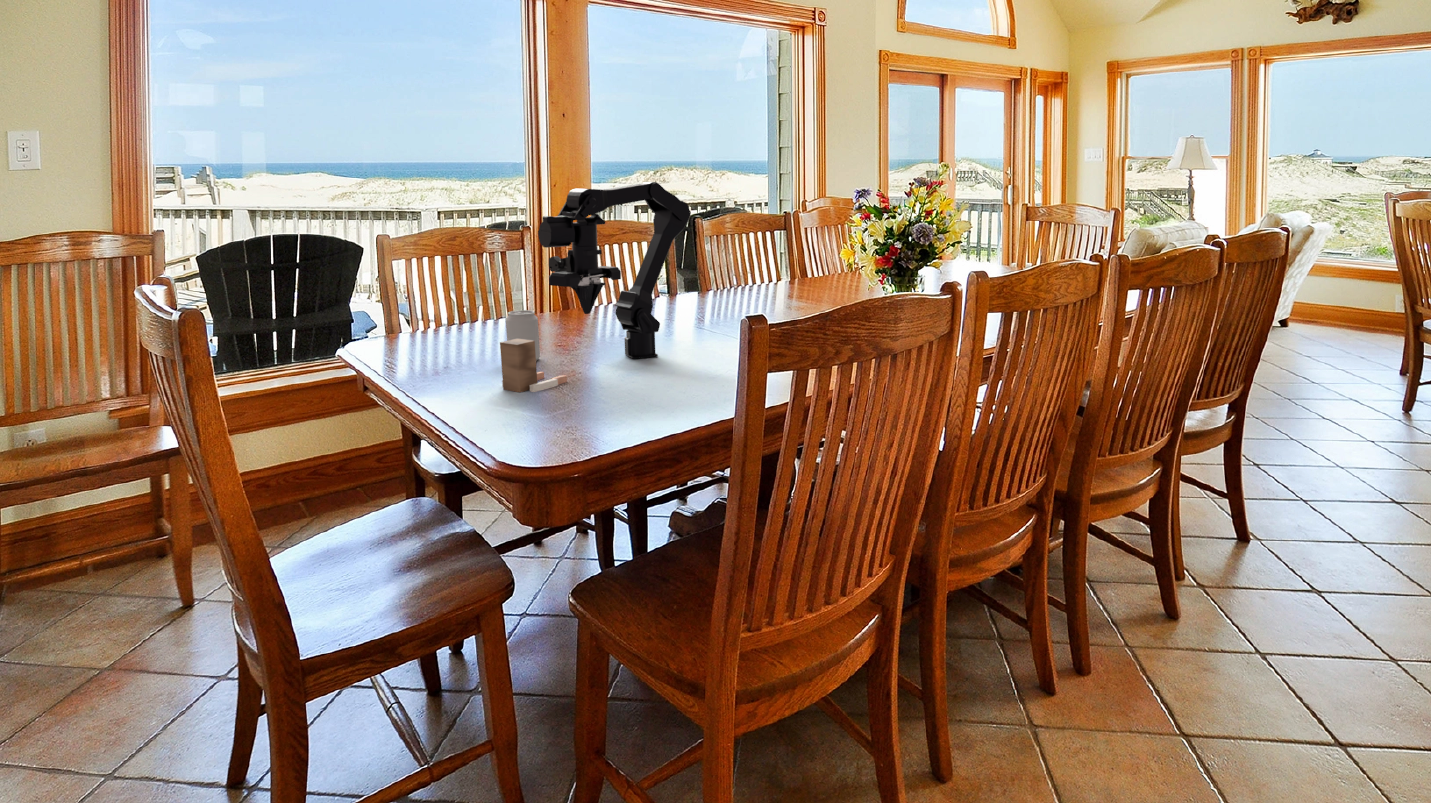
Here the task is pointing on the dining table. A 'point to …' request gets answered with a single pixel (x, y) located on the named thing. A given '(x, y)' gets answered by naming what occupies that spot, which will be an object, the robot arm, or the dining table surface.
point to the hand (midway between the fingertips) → (587, 313)
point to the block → (518, 364)
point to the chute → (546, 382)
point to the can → (523, 327)
